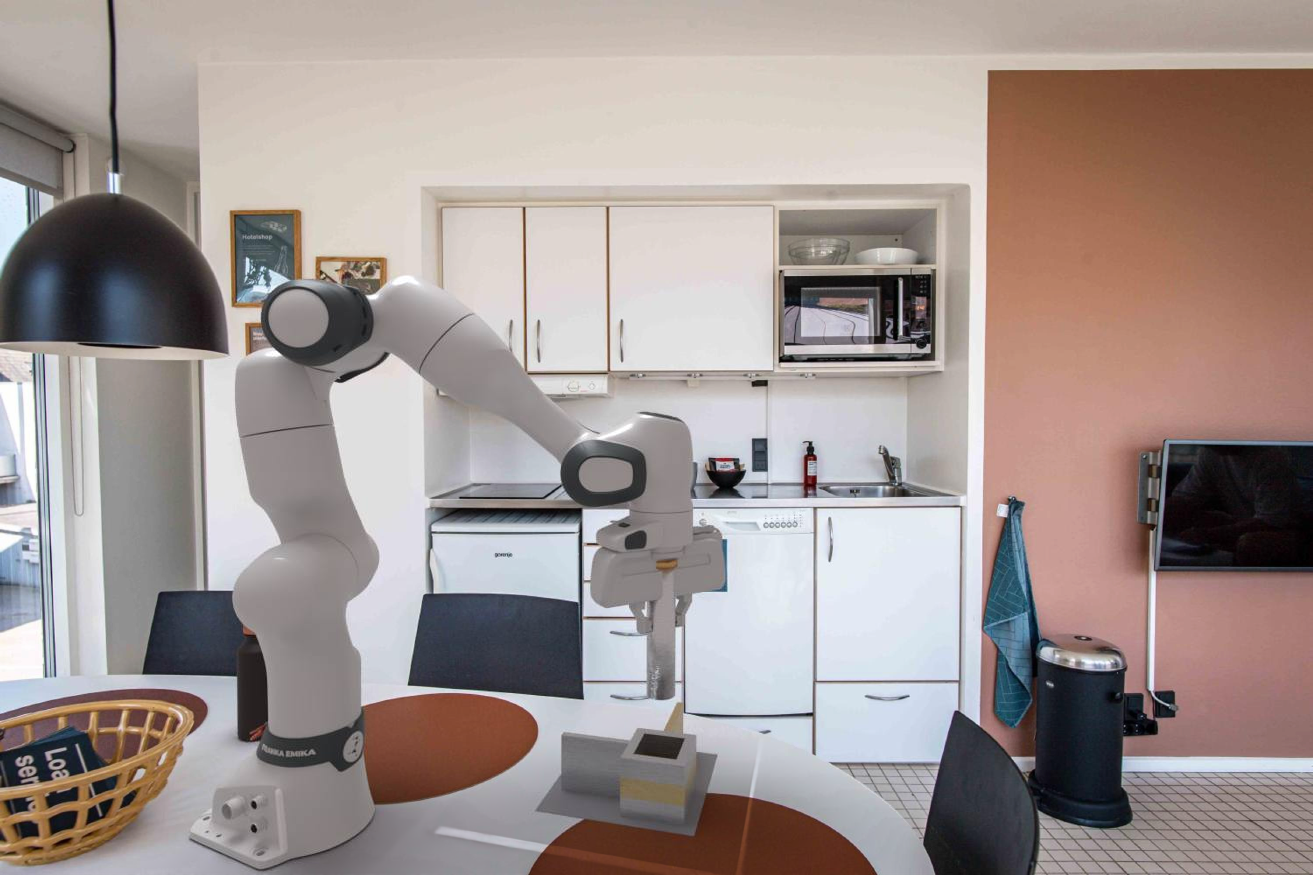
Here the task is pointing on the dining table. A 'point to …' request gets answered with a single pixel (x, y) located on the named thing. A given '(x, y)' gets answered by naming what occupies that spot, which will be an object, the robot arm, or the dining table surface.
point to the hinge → (636, 770)
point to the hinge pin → (662, 637)
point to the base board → (610, 807)
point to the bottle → (251, 687)
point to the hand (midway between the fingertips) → (660, 629)
